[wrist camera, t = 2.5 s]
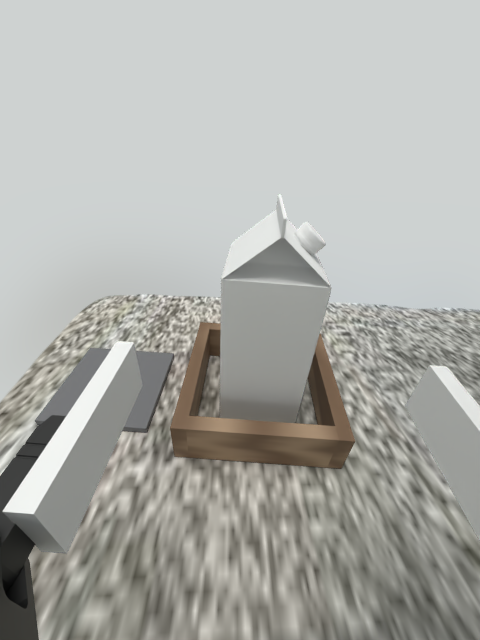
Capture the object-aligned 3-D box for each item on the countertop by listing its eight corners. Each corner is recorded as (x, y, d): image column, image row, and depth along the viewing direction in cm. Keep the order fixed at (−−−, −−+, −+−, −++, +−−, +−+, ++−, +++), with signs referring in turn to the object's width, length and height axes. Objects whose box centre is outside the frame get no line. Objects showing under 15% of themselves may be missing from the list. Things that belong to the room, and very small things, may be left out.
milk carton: (218, 422, 26) (221, 213, 15) (227, 369, 32) (233, 191, 21) (294, 429, 26) (350, 222, 15) (288, 374, 32) (326, 197, 21)
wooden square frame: (311, 352, 35) (318, 327, 33) (341, 468, 23) (354, 441, 21) (202, 345, 35) (201, 319, 33) (174, 456, 23) (170, 428, 21)
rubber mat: (174, 357, 33) (173, 353, 33) (146, 432, 25) (146, 428, 24) (91, 351, 33) (90, 347, 33) (37, 424, 25) (34, 420, 24)
